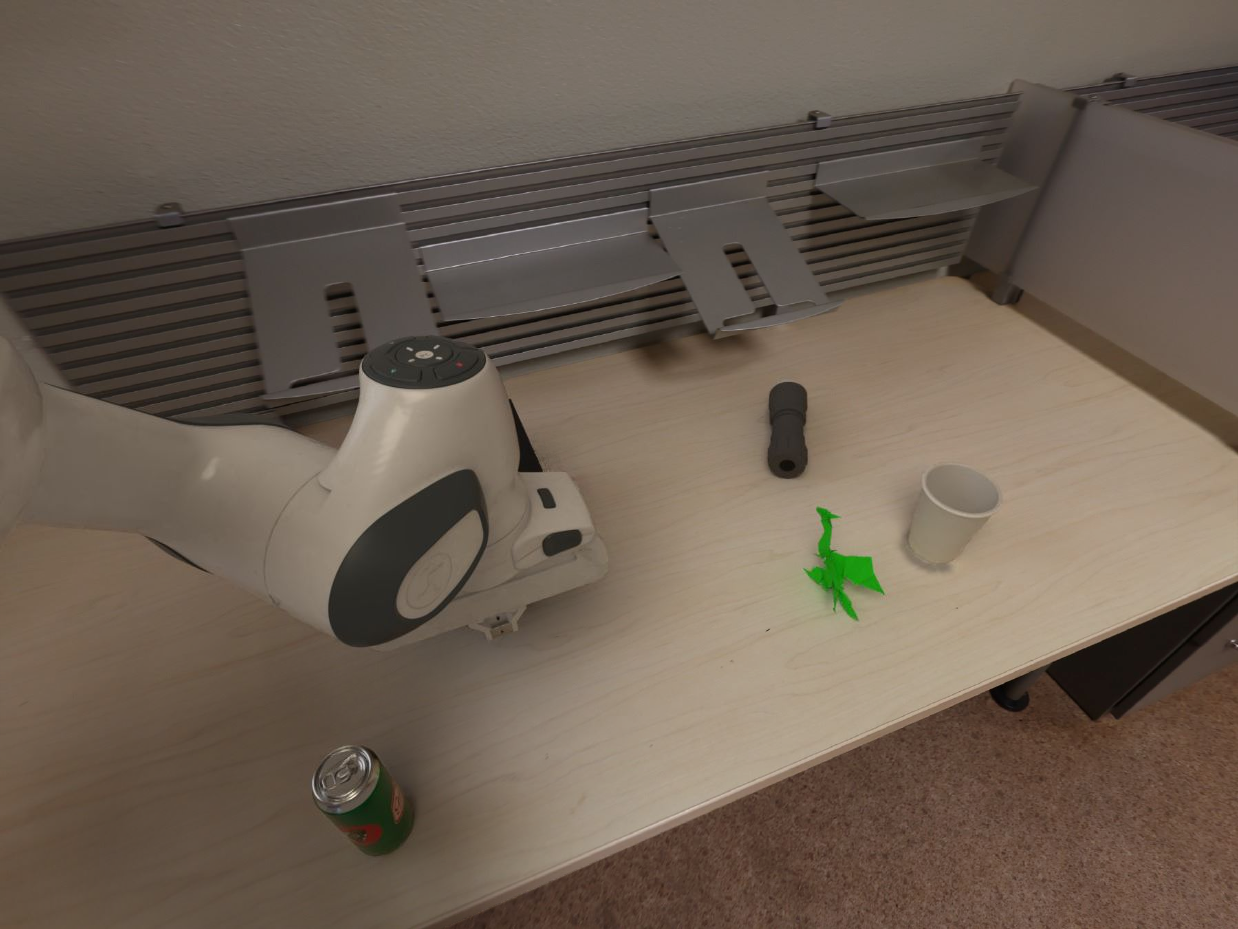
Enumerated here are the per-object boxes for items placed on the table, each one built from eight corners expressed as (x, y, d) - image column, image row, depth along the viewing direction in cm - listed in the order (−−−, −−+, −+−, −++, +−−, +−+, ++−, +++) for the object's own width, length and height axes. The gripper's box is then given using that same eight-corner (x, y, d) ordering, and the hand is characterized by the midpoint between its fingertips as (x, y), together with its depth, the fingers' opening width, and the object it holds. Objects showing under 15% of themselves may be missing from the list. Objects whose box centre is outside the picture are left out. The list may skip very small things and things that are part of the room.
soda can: (423, 834, 56) (386, 782, 48) (366, 872, 54) (317, 825, 46) (402, 783, 59) (364, 727, 51) (347, 818, 57) (298, 764, 49)
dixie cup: (919, 578, 74) (949, 521, 67) (883, 524, 80) (907, 467, 73) (985, 565, 76) (1020, 508, 69) (945, 513, 81) (974, 456, 74)
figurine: (820, 531, 79) (845, 490, 71) (876, 619, 72) (910, 584, 65) (776, 546, 77) (796, 505, 70) (828, 637, 71) (857, 603, 63)
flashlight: (805, 483, 86) (812, 454, 82) (763, 478, 86) (769, 449, 83) (803, 410, 96) (810, 381, 93) (766, 406, 97) (772, 377, 93)
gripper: (331, 610, 43) (387, 702, 53) (614, 520, 49) (618, 620, 58) (325, 542, 48) (378, 639, 57) (586, 466, 53) (594, 567, 62)
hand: (501, 629), depth 58 cm, fingers closed
